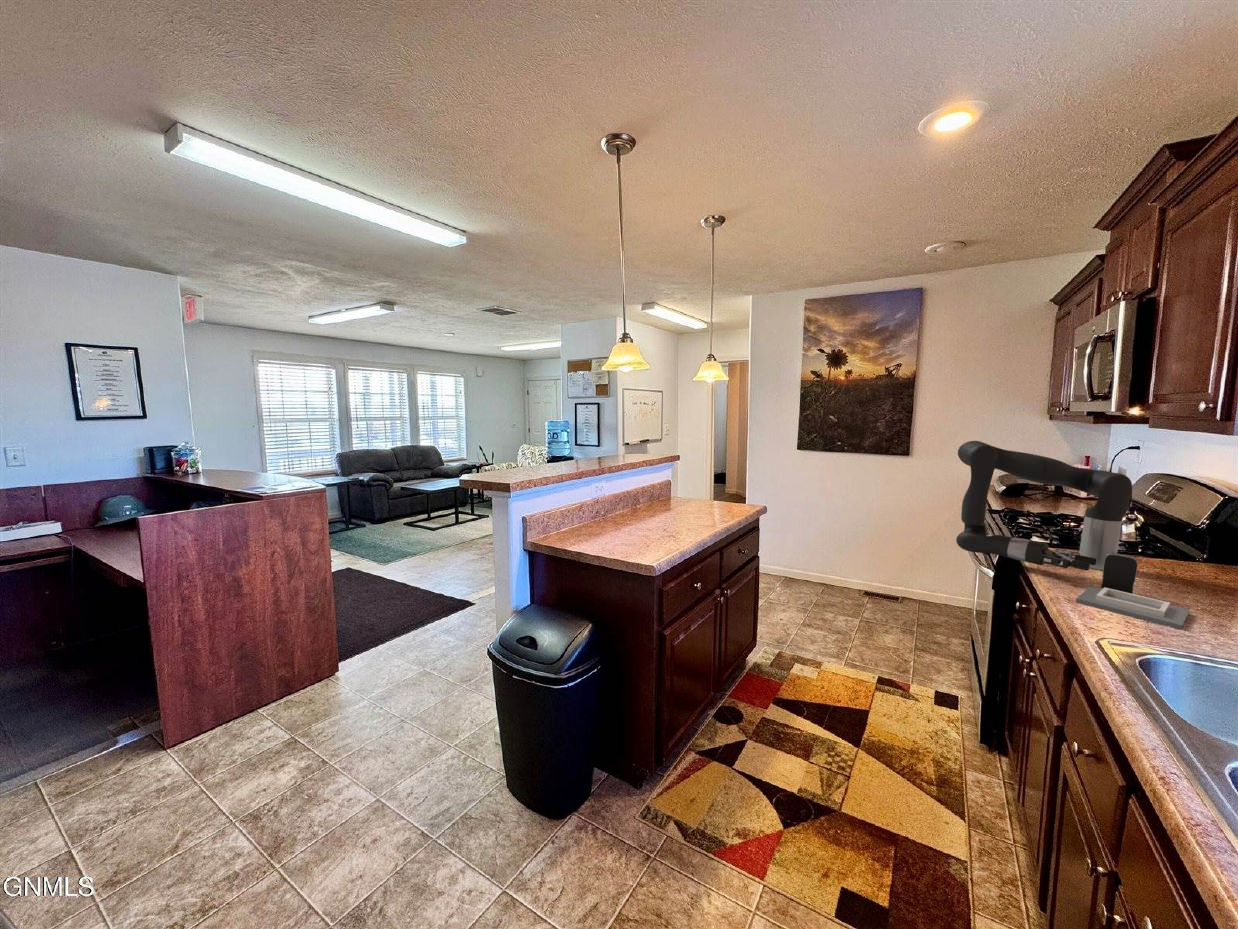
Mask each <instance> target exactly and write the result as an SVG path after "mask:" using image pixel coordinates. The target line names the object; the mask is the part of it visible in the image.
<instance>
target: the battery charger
mask: <svg viewBox="0 0 1238 929" xmlns="http://www.w3.org/2000/svg"><path fill="white" fill-rule="evenodd" d="M1138 566H1139V562H1138V559H1137V558H1136V557H1135V556H1131V555H1126V554H1122V553H1117V554H1116V553H1110V554H1108V555H1107V556H1106V558H1105V562H1104V567H1103V570H1102V579H1101V586H1100V589H1103V588H1104V587H1105V588H1109V589H1114V590H1118V591H1122V592H1126V593H1131V594H1134V592H1133V591H1134V586H1135V582H1136V578H1137V573H1138V568H1139V567H1138Z"/></svg>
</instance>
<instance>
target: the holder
mask: <svg viewBox="0 0 1238 929" xmlns="http://www.w3.org/2000/svg"><path fill="white" fill-rule="evenodd" d="M1076 602H1077V604H1080V603H1081V605H1085V606H1089V607H1092V606H1093V607H1092V608H1095V609H1100V610H1103V609H1104V611H1107V612H1112V613H1115V614H1118V613H1119V614H1120V615H1122V616H1127V617H1130V616H1131V617H1130V618H1135V619H1139V620H1142V619H1143V621H1145V620H1146V621H1145V622H1150V623H1153V624H1158V625H1161V626H1165V627H1168V626H1170V627H1169V628H1172V627H1173V629H1176V630H1183V627H1184V626H1185V624H1186V621H1187V619H1188V618H1189V615H1190V613H1191V609H1188V608H1184V607H1179V606H1175V605H1171V602H1169V601H1164V600H1160V599H1156V598H1152V597H1148V596H1143V595H1138V594H1135V593H1133V594H1131V593H1126V592H1122V591H1118V590H1114V589H1109V588H1105V587H1104V588H1103V589H1102V588H1101V587H1100V588H1099V587H1095V586H1091V585H1090V586H1088V587H1087V588H1086V589H1085V590H1084V591H1083V592H1081V593H1080V595H1078V596H1077V597H1076V598H1075V603H1076Z"/></svg>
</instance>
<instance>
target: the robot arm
mask: <svg viewBox="0 0 1238 929" xmlns="http://www.w3.org/2000/svg"><path fill="white" fill-rule="evenodd" d="M957 455H958V458H959V460H960V461H961V462H962V463H963V464H964V465H966V466H968V467H969V468H970V475H971V476H970V483H969V485H968V487H967V490H966V491H965V494H964V496H963V499H962V504H961V517H960V518H961V522H962V523H964V528H963V531H962V532H961V533H958V535H957V537H956V539H955V540H956V544H957V545H958V547H959V548H960V549H962V550H964V551H967V552H970V553H978V554H979V553H980V554H991V555H998V556H1002V557H1004V558H1005V557H1006V558H1009V559H1013V560H1017V561H1021V562H1025V563H1027V564H1028V563H1029V564H1034V565H1039V566H1043V565H1049V566H1053V567H1058V568H1059V567H1060V568H1063V569H1068V568H1069V569H1071V568H1074V569H1078V570H1083V571H1089V570H1090V569H1094V570H1099V571H1103V567H1104V562H1105V558H1106V556H1107V555H1108V554H1110V553H1116V554H1118V549H1119V544H1120V537H1121V530H1122V524H1123V519H1124V516H1125V515H1126V513H1127V512H1128V510H1129V506H1130V502H1131V497H1132V492H1133V483H1132V481H1131V478H1130V477H1128V476H1127V475H1125V474H1121V473H1119V472H1118V473H1117V472H1112V471H1106V470H1097V469H1089V468H1082V467H1076V466H1073V465H1070V464H1068V463H1066V462H1064V461H1061V460H1058V459H1055V458H1052V457H1047V456H1044V455H1043V456H1042V455H1040V454H1039V455H1038V454H1033V453H1028V452H1020V451H1016V450H1008V449H1003V448H999V447H996V446H993V445H991V444H988V443H985V442H983V441H981V440H980V441H979V440H969V441H966V442H964V443H962V444H961V445H960V446H959V448H958V449H957ZM995 470H998V471H1002V472H1003V473H1006V474H1009V475H1012V476H1013V477H1014V476H1015V477H1017V478H1020V479H1023V480H1026V481H1029V482H1035V483H1037V484H1041V485H1049V486H1056V487H1057V486H1059V487H1066V488H1071V489H1073V490H1076V491H1079V492H1083V493H1086V494H1088V495H1091V496H1094V497H1097V500H1096V504H1094V506H1089V507H1087V508H1086V509H1085V513H1084V518H1083V525H1082V526H1083V527H1082V532H1081V537H1080V538H1081V539H1080V545H1079V552H1078V551H1077V552H1076V551H1071V550H1065V549H1062V548H1055V549H1054V550H1051V549H1049V545H1048V543H1046V542H1042V541H1036V540H1031V539H1026V538H1021V537H1020V538H1019V537H1013V536H1007V535H1003V534H1002V535H1001V534H993V535H987V527H986V522H985V520H986V513H987V512H986V511H987V501H988V495H989V491H990V487H991V482H992V480H993V475H994V472H995Z"/></svg>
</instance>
